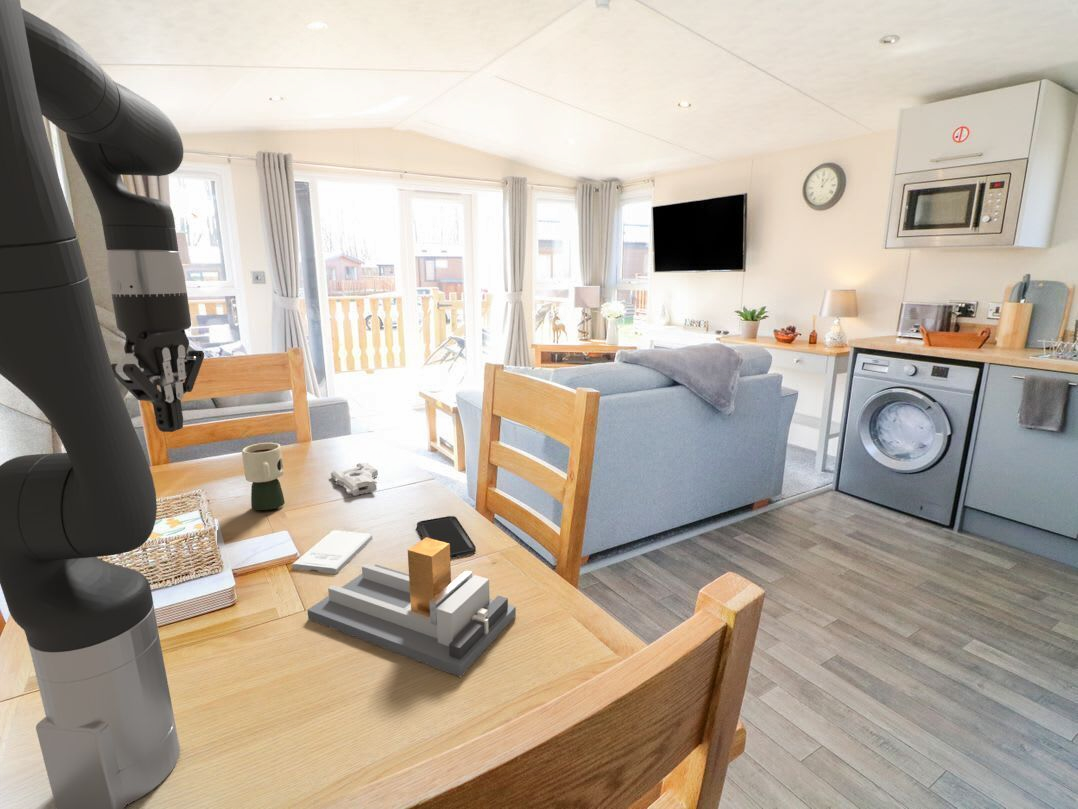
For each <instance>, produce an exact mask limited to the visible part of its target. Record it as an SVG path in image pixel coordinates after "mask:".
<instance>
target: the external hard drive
mask: <svg viewBox="0 0 1078 809" xmlns="http://www.w3.org/2000/svg"><path fill="white" fill-rule="evenodd" d="M372 540H373V535H372V534H371V533H364V532H354V531H344V530H331V531H330V532H329V533H327V535H325V536H324V537H323V538H322V539H321V540H319V541H318V542H317V543H316V544H314V545H313V546H312V547H311V548H310V549H308V550H307V551H306V552H305V553H304V554H302V555H301V556H300V557H299V558H297V559H296V560H295V561H294V562H293V563H292V564H291V570H292V569H293V570H299V571H309V572H310V571H313V572H314V571H315V572H318V573H325V574H333V575H336V574H338V573H339V572H340V571H341V570H342V569H344V567H345V566H346V565H347V564H349V563H350V562H351V560H352V559H353V558H355V557H356V556H357V555H358V554H359V553H360V551H362V550H363V549H364V548H365V547H366V546H367V545H368V544H369V543H370V542H371V541H372Z"/></svg>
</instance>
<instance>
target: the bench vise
mask: <svg viewBox="0 0 1078 809" xmlns="http://www.w3.org/2000/svg"><path fill="white" fill-rule="evenodd" d="M327 590H328V596H326V597H324V598H322V600H320V601H319V602H317V603H315V604H314V605H312V606H311V607H310V608H308V609H307V619H308V620H310V621H312V622H315V623H317V624H320V625H323V626H325V627H328V628H331V629H332V630H333V629H334V630H337V631H339V632H341V633H344V634H347V635H348V636H352V637H355V638H356V639H360V640H362V641H365V642H367V643H370V644H372V645H375V646H378V647H380V648H383V649H386V650H388V651H390V652H393V653H397V654H399V655H402V656H404V657H406V658H410V659H412V660H414V661H418V662H420V663H423V664H425V665H427V664H428V665H427V666H430V667H433V668H435V667H436V668H435V669H438V670H440V669H441V671H443V670H444V671H443V672H446V671H447V672H446V673H448V672H449V673H448V674H451V673H452V674H451V675H454V674H455V675H454V676H456V675H458V676H457V677H459V676H461V677H462V676H463V675H464V674H465V673H466V672H467V671H468V670H467V669H469V668H470V667H471V666H472V665H473V664H474V663H475V662H474V661H475V660H476V661H477V660H478V658H479V657H481V655H482V654H483V653H484V652H485V651H486V650H487V649H488V647H489V646H490V645H491V644H492V643H493V642H494V641H495V639H496V638H497V637H499V635H500V634H501V633H502V632H503V631H504V629H505V628H507V626H508V625H509V624H510V623H511V622H512V621H513V620H514V619H515V617H516V615H517V614H516V613H517V612H516V606H514V605H512V604H509V601H508V600H509V599H508V597H504V596H500V595H497V596H496V597H495V598H494V599H491V598H490V578H486V577H483V576H480V575H476V574H473V575H472V578H471V579H469V580H468V581H467V582H466V583H465V584H464V585H462V586H461V587H460V588H459V589H458V590H457V591H456V592H454V593H453V594H452V595H451V596H450V597H449V598H448V599H446V600H445V601H444V602H443V603H442V604H441V605H440V606H438V607H437V608H436V615H437V625H435V624H432V623H430V617H428V616H425V615H422V614H419V613H416V612H413V611H410V610H407V609H404V608H405V607H406V606H407V605H409V604H410V603H411V600H410V583H409V573H406V572H403V571H399V570H396V569H393V568H389V567H386V566H383V565H379V564H375V565H372V564H369V563H365V564H363V565H362V566H361V573H360V575H358V576H356V577H355V578H353V579H352V580H350V581H349V582H347V583H346V584H344V585H343V586H338V585H335V584H332V585H331V586H329V587H328V588H327ZM493 640H494V641H493ZM484 650H485V651H484ZM482 652H483V653H482ZM472 663H473V664H472ZM466 670H467V671H466ZM465 671H466V672H465ZM464 672H465V673H464ZM463 673H464V674H463Z"/></svg>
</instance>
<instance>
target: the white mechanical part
mask: <svg viewBox="0 0 1078 809" xmlns="http://www.w3.org/2000/svg"><path fill="white" fill-rule="evenodd" d="M378 472H379V471H378V469H377V468H375V467H374V466H373V465H371V464H369V463H367V462H364V463H362V462H361V463H357V464H356V466H355V467H352V468H348V469H344V470H340V469H338V468H337V469H336V470H333V471H332V472H330V476H331V478H332V479H333V481H335V485H336V486H337V485H339V486H341V487H342V486H343V487H342V488H344V489H346V490H345V491H346V493H347V494H351V495H352V496H354V497H356V496H360V495H359V494H361V495H365V494H369V493H368V492H370V493H374V492H376V491H377V490H378V489H377V484H378V483H377V481H376V480H375V478H376V477H377V476H378ZM376 475H377V476H376ZM375 476H376V477H375ZM373 477H375V478H373ZM364 493H365V494H364Z"/></svg>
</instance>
